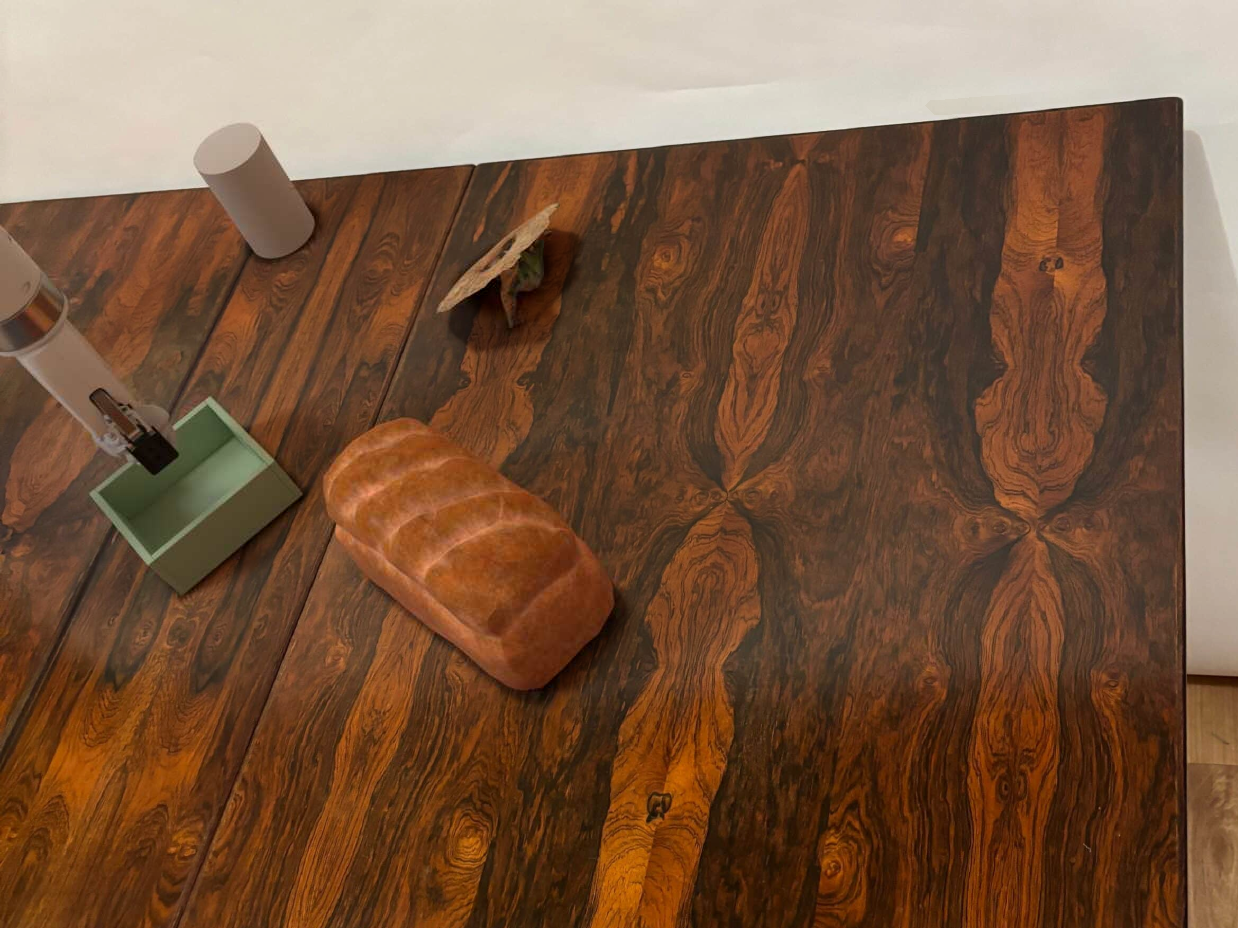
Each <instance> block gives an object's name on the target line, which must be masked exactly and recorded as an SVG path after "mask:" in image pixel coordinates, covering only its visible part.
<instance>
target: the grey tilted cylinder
mask: <svg viewBox="0 0 1238 928" xmlns="http://www.w3.org/2000/svg"><path fill="white" fill-rule="evenodd" d="M193 166H194V168H195V169H196V170H197V172H198V173H199V175H200V176H201V178H202V179H203V180H204V182H205V183H206V185H207V186H208V187H209V189H210V190H211V192H212V193H213V195H214V196H215V197H216V199H217V201H218V202H219V204H220V205H221V206H222V209H224V210H225V212H226V214H227V215H228V216H229V218H230V220H232V222H233V224H234V225H235V227H236V228H237V229H238V231H239V232H240V234H241V235H242V237H243V238H244V239H245V241H246V242H247V243H248V245H249V246H250V248H251V249H252V250H253V252H254V253H255V254H256V255H257V256H258V257H261V258H264V259H278V258H282V257H285V256H288V255H290V254H292V253H293V252H295V251H297V250H298V249H300V248H301V247H302V246H303V245H304V244H305V243H306V242H307V241H308V240H309V239H310V237H311V236H312V234H313V232H314V229H315V218H314V216H313V214H312V212H311V210H309V208H308V206H307V205H306V203H305V201H304V200H303V198H302V197H301V195H300V193H299V192H298V190H297V189H296V188H295V185H294V184H293V182H292V180H291V179H290V178H289V176H288V174H287V172H286V171H285V169H284V167H283V166H282V164H281V163H280V161H279V160H278V158H277V157H276V155H275V153H274V151H273V150H272V148H271V147H270V145H269V144H268V142H267V140H266V139H265V136H263V134H262V132H261V131H260V129H259V128H258V127H257V126H256V125H254V124H252V123H248V122H237V123H232V124H228V125H226V126H223V127H221V128H219V129H217V130H215V131H213V132H212V133H210V134H209V135H208V136H207V137H206V138H204V139H203V140H202V141H201V142H200V144H199V145H198V147H197V148H196V150H195V152H194V156H193Z"/></svg>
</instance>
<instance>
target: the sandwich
mask: <svg viewBox="0 0 1238 928" xmlns="http://www.w3.org/2000/svg"><path fill="white" fill-rule="evenodd" d="M560 206H561V203H560V202H555V203H552V204H549V205H548V206H546V207H545V208H544V209H542V210H541V211H539V212H537V213H536V214H535V215H534V216H532V217H530V218H529V219H528V220H526V221H525V222H523V223H521V224H520V225H519V226H517V227H516V228H514V230H512V231H511V232H510V233H509V234H507V235H506V236H505V237H503V238H502V239H501V240H500V241H499V242H497V243H496V244H495V246H493V247H492V248H491V250H489V251H488V252H487V253H486V254H485V255H484V256H482V257H481V258H480V259H479V260H478V261H477V262H475V263H474V264H473V265H472V266H471V267H470V268H469V269H468V270H467V271H466V272H465V273H464V274H463V275H462V276H461V277H460V278H459V279H458V281H457V282H456V283H455V284H454V285H453V286H452V288H451V289H450V291H448V293H447V294H446V296H445V297H444V299H443V300H441V302H440V303H439V304H438V306H437V307H436V313H444V312H446V311H449V310H451V309H452V308H453V307H455V306H456V305H457V304H459V303H460V302H461V301H462V300H464V299H466V298H468V297H471V296H472V295H473V294H475V293H477V292H478V291H480V290H482V289H483V288H485V287H486V286H487V285H488V283H490V281H491V280H492V279H496V280H498V281H501V285H500V298H501V299H500V300H501V304H502V308H503V311H504V315H505V317H506V319H507V321H508V327H509V328H510V329H512V328H513V327H514V326H515V321H516V315H515V314H516V313H515V312H516V308H517V294H518V293H519V292H531V291H534V290H536V289H538V288H539V287H540V286H541V283H542V279H543V278H544V274H545V273H544V267H545V266H544V258H543V257H544V256H543V255H544V254H543V253H544V244H545V241H544V239H541V240H539V237H540V236H541V235H542V238H547V237H551V236H553V235H554V231H552V230H546V229H547V228H548V227H549V224H550V223H551V221H550V218H549V217H550V216H551V215H552V214H553V213H554V211H556V210H557V209H558V207H560ZM544 230H546V231H544ZM533 243H534V245H535V246H533ZM526 249H528V250H527V252H526V251H525V250H526Z"/></svg>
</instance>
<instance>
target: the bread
mask: <svg viewBox="0 0 1238 928" xmlns="http://www.w3.org/2000/svg"><path fill="white" fill-rule="evenodd" d="M322 480H323V481H322V482H323V483H322V484H323V485H322V492H323V496H324V500H325V504H326V505H325V507H326V509H327V514H328V517H329V518H330V519H332V521H333V522H334V523H335V529H334V535H335V537H336V538H337V540H338V541H339V543H340V544H341V546H342V548H343V549H344V551H345V553H346V554H347V555H348V556H349V557H350V559H351V560H352V561H353V562H354V564H355V565H356V566H357V567H358V569H359V570H360V571H361V573H362V574H363V575H365V576H366V577H367V578H368V579H370V580H371V581H372V582H373V583H374V584H375V585H376V586H378V587H379V588H381V589H383V590H384V591H385V592H386V593H387V594H389V595H390V596H391V597H392V598H393V599H394V600H395V601H397V602H398V603H399V604H400V605H401V606H402V607H403V608H405V609H406V610H407V611H409V612H410V613H411V614H412V615H413V616H415V617H416V618H417V619H418V620H419V621H420V622H422V623H423V624H424V625H425V626H427V627H428V628H429V629H430V630H432V631H433V632H434V633H436V634H438V635H439V636H441V637H443V638H444V639H446V640H447V641H449V642H451V643H452V644H453V645H455V646H456V647H457V648H458V649H459V650H461V652H463V653H464V654H465V655H466V656H468V657H469V658H470V659H471V660H472V661H473V662H474V663H476V665H478V666H479V668H481V669H482V670H483V671H485V672H486V673H487V674H488V675H489V676H491V677H492V678H494V679H496V680H498V681H499V682H500V683H502V684H503V685H505V686H507V687H508V688H511V689H513V690H516V691H517V690H518V691H530V690H537V689H542V688H543V687H544V686H545V685H547V684H548V683H549V682H550V681H551V680H552V679H553V678H554V677H555V676H556V675H557V674H559V673H560V672H561V671H562V670H563V669H564V668H565V667H566V666H567V665H568V664H569V663H570V662H571V661H572V660H573V659H574V657H575V656H576V655H577V654H578V653H579V652H580V651H581V650H582V649H583V648H584V647H585V646H586V645H587V644H588V643H589V642H590V641H592V640H593V639H594V638H595V637H597V636H598V635H599V634H600V632H601V630H602V629H603V626H604V625H605V623H606V622H607V620H608V618H609V616H610V614H611V612H612V611H613V608H614V607H615V597H614V587H613V584H612V581H611V579H610V577H609V575H608V574H607V572H606V570H605V569H604V567H603V565H602V564H601V562H600V560H599V559H598V558H597V556H596V555H595V554H594V552H593V551H592V549H590V548H589V546H588V544H587V543H586V542H585V541H583V540H582V539H581V538H580V537H579V536H578V535H577V534H576V533H575V532H574V529H573V528H572V527H571V525H570V524H568V523H567V522H566V521H565V520H564V519H563V517H562V516H561V515H560V514H559V513H558V512H557V511H556V510H555V509H554V508H553V507H552V506H551V505H549V504H548V503H547V502H546V501H544V500H543V499H542V498H540V497H538V496H537V495H535V494H533V493H531V492H529V491H528V490H526V489H524V488H522V487H521V486H519V485H518V484H517V483H515V482H514V481H512V480H510V479H509V478H508V477H506V476H505V475H503V473H501V472H500V471H498V470H497V469H495V468H494V467H493V466H491V465H489V464H488V463H486V462H485V461H484V460H482V459H481V458H479V457H478V456H476V454H474V453H472V452H471V451H469V450H468V449H466V448H464V447H463V446H462V445H460V444H459V443H456V442H454V441H452V440H450V439H448V438H447V437H445V436H444V435H443V434H441V432H438V431H437V430H435V429H433V428H432V427H430V426H429V425H427V424H425V423H423V421H420V420H418V419H415V418H412V417H400V418H397V419H393V420H389V421H387V422H384V423H383V422H382V423H380V424H377V425H375V426H374V427H373V428H371V429H369V430H368V431H366V432H365V433H363V434H361V435H360V436H358V437H357V438H355V439H354V440H352V441H351V442H350V443H349V444H348V445H347V446H346V447H345V448H344V449H343V450H342V452H340V454H339V455H338V456H337V457H336V458H335V460H334V461H333V463H332V464H331V466H330V467H329V468H328V470H327V471H326V473H325V474H324V475H323V479H322Z"/></svg>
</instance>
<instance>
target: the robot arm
mask: <svg viewBox="0 0 1238 928" xmlns="http://www.w3.org/2000/svg"><path fill="white" fill-rule="evenodd" d="M69 308H70V307H69V300H68V297H67V295H65V293H64V292H63V291H62V290H61V289H60V288H59V287H58V286H57V285H56V283H54V281H52V279H51V278H50V277H49V276H48V275H47V274H46V273H45V272H44V270H43V269H41V267H40V266H39V265H38V264H37V263H36V261H34V260H33V259H32V258H31V257H30V256H29V254H28V253H27V252H26V251H25V250H24V249H23V248H22V247H21V245H20V244H19V243H18V242H17V241H16V240H15V239H14V238H13V237H12V236H11V234H10V233H8V231H7V230H6V228H4V227H3V226H2V225H1V224H0V357H4V358H15V359H16V360H17V361H18V362H19V363H20V364H21V365H22V366H23V368H25V370H27V372H28V373H30V375H32V376H33V378H34V379H36V381H37V382H39V384H41V386H43V388H44V389H45V390H46V391H48V392H49V394H51V396H53V398H55V399H56V400H57V402H59V403H60V404H61V405H62V406H63V407H64V408H65V409H66V410H67V411H68V412H69V413H70V414H71V415H72V416H73V417H74V418H75V419H76V420H77V421H78V422H79V423H80V424H81V426H83V427H84V428H85V429H86V430H87V431H88V432H89V433H90V434H91V435H92V437H93V436H94V437H98V438H102V437H103V435H104V434H106V433H107V432H108V429H110V430H111V431H112V432H113V433H114V434H115V435H116V436H117V437H118V438H119V439H120V440H121V441H122V442H123V443H124V444H125V445H126V447H125V448H126V450H127V451H128V452H129V453H130V454H131V455H132V456H133V457H134V458H135V459H136V460H137V461H138V462H139V463H140V464H141V465H142V466H143V467H144V468H146V469H147V470H148V471H149V472H150V473H151V474H152V475H157V474H158V473H159V472H160V471H162V470H163V469H164V468H165V467H167V466H168V465H169V464H170V463H172V462H173V461H174V460H175V459H176V458H178V456H179V453H178V451H177V450H176V449H175V448H174V447H173V446H172V445H171V444H170V443H169V442H168V441H167V440H166V439H165V438H164V437H163V436H162V435H161V434H160V433H159V431H158V430H157V429H156V428H155V427H154V426H153V425H152V426H151V427H150V426H149V425H148V424H147V423H146V422H145V421H144V420H143V419H142V418H141V417H140V416H139V415H138V413H137V412H136V411H135V410H136V409H137V404H138V402H137V400H136V399H135V398H134V397H133V395H132V394H131V393H130V391H129V390H128V389H127V387H126V386H125V384H123V382H122V381H121V380H120V378H119V377H118V376H117V375H116V373H115V372H114V370H113V369H112V368H111V367H110V366H109V365H108V364H107V362H106V361H105V360H104V358H102V356H101V355H100V354H99V353H98V352H97V350H96V349H95V348H94V347H93V346H92V345H91V343H89V341H88V340H87V339H86V338H85V336H84V335H83V334H82V333H81V332H80V331H79V330H78V329H77V328H76V326H75V325H73V324H72V323H71V321H70V320H69V319H68V318H67V316H68V313H69ZM118 406H125V407H124V408H123V409H120V408H119V407H118ZM134 409H135V410H134ZM105 415H107V416H108V417H109V418H110V419H109V420H108V421H107V420H106V419H105V417H104V416H105ZM130 415H131V416H132V417H133V418H134V419H135V420H136V421H137V422H138V423H139V424H136V425H135V424H134V423H133V422H132V420H131V419H130V418H129V416H130ZM116 426H118V427H119V428H120V429H121V430H122V431H123V433H124V435H123V434H122V433H121V431H120V430H119V429H118V428H117V427H116ZM107 428H108V429H107Z"/></svg>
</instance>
